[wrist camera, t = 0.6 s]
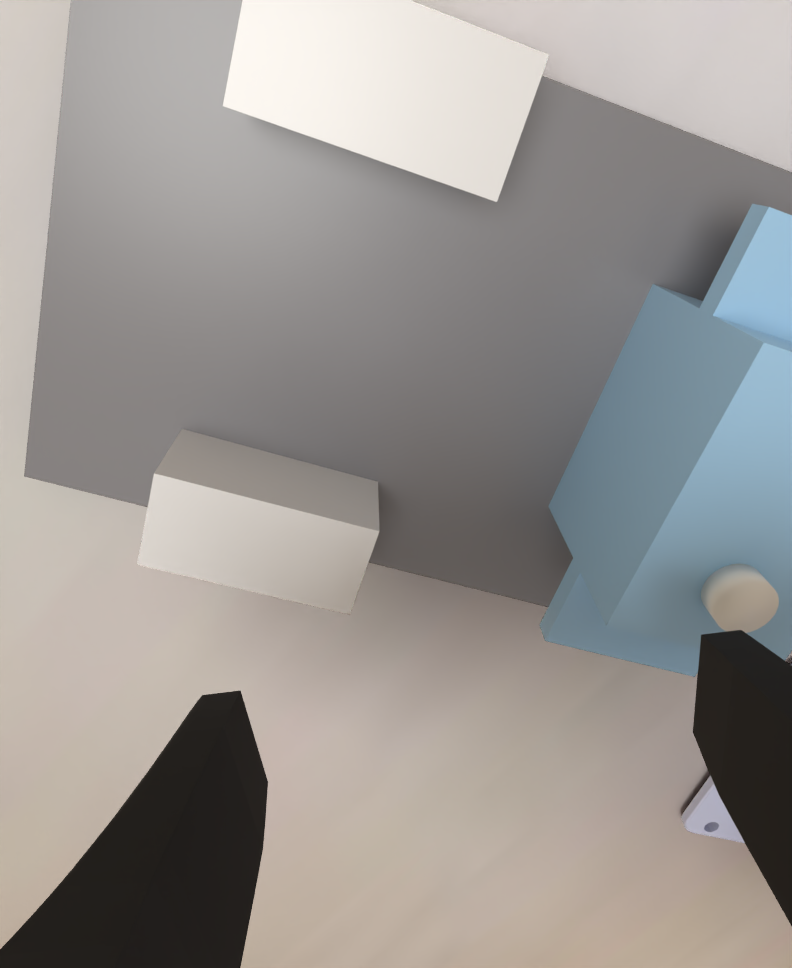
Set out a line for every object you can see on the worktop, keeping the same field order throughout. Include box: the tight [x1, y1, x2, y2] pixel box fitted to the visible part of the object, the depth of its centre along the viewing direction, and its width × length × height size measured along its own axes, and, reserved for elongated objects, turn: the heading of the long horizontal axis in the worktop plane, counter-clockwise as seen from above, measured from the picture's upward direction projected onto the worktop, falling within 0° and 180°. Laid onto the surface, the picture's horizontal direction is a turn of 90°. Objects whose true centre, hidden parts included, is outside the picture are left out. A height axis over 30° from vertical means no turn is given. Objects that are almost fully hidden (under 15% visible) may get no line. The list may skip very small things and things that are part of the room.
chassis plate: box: [24, 0, 792, 615], centre depth 16 cm, size 20×12×4 cm, turn 72°
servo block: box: [540, 204, 792, 677], centre depth 15 cm, size 4×10×6 cm, turn 162°
